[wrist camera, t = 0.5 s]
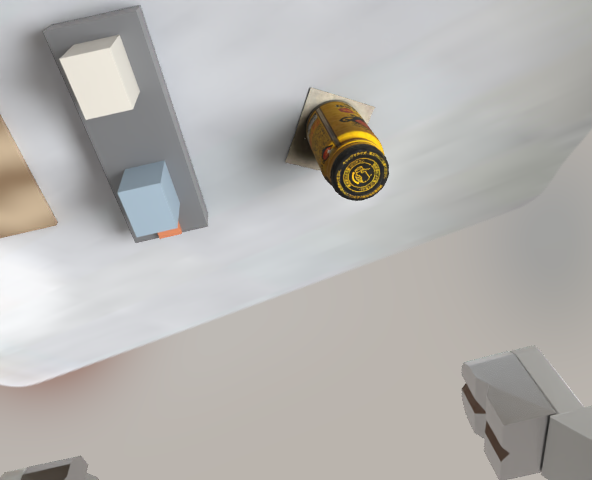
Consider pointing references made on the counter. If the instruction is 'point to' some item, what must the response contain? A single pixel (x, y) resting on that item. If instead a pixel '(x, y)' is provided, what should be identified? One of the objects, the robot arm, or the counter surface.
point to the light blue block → (149, 198)
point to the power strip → (135, 115)
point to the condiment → (340, 145)
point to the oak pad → (19, 192)
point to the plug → (101, 77)
